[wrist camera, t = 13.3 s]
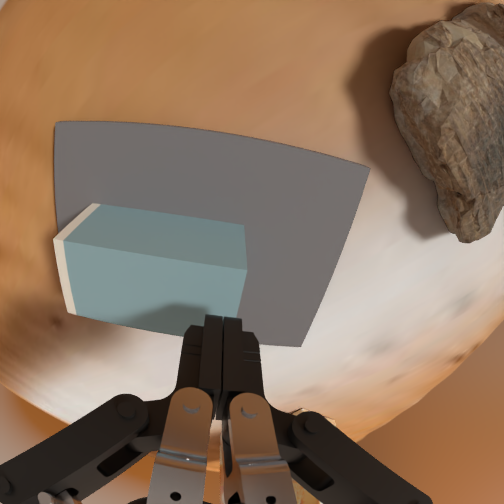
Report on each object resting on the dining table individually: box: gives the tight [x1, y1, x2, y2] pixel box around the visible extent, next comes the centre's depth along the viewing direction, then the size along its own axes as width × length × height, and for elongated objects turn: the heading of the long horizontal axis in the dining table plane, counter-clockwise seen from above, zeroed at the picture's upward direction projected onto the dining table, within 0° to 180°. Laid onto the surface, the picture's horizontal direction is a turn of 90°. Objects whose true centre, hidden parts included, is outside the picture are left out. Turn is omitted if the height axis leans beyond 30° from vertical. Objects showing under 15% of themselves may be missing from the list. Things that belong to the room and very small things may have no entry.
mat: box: [54, 121, 370, 347], centre depth 17 cm, size 14×18×1 cm
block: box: [53, 203, 247, 337], centre depth 14 cm, size 4×4×9 cm
